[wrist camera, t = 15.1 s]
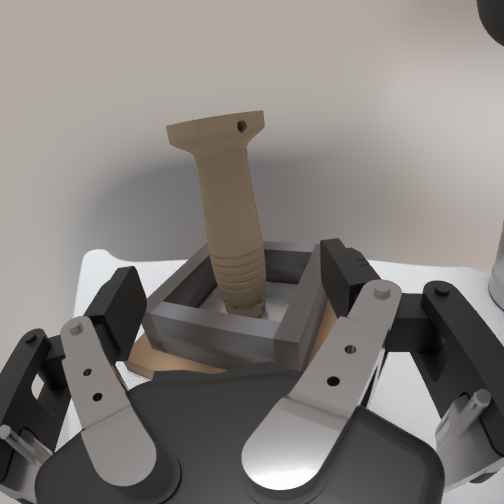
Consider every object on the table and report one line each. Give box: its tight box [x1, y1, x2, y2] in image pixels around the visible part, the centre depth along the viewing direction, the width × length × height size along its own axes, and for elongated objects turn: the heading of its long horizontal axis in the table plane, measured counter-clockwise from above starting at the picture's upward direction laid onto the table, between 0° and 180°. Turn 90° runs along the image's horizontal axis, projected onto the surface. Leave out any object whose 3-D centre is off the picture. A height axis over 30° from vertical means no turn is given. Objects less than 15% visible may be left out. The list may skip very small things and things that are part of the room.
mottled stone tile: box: [199, 281, 298, 322], centre depth 24 cm, size 8×8×1 cm
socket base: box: [123, 242, 338, 380], centre depth 24 cm, size 16×16×6 cm
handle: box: [166, 111, 266, 317], centre depth 21 cm, size 5×6×15 cm
